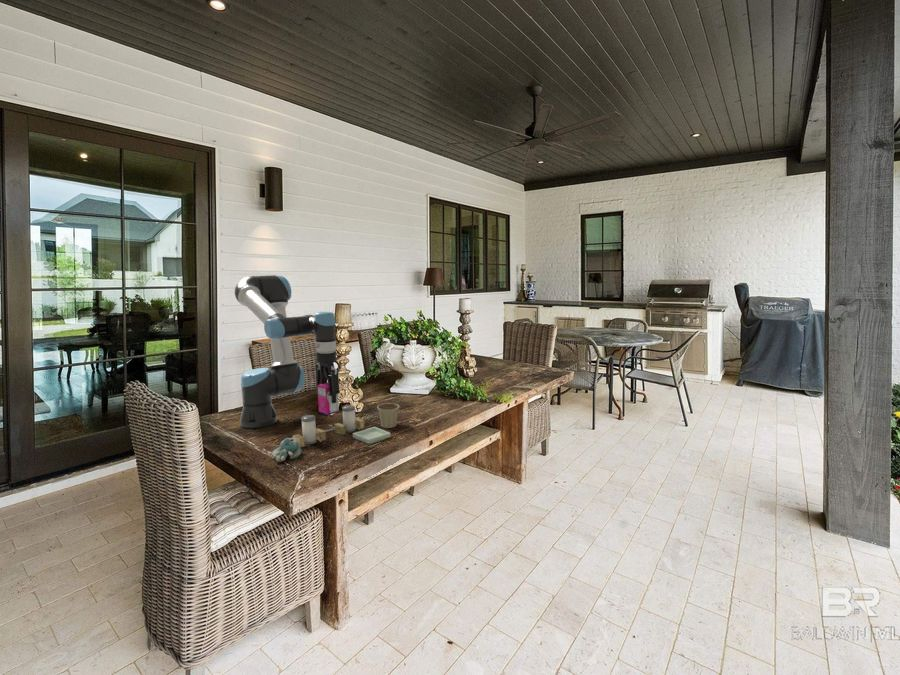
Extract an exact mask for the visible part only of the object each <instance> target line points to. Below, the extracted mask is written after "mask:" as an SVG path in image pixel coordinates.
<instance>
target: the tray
mask: <svg viewBox="0 0 900 675" xmlns="http://www.w3.org/2000/svg"><path fill="white" fill-rule="evenodd" d="M391 434H392V433H391V432H390V431H387V430H384V429H382V428H380V427H376V426H373V427H370V428H366V429H365V428H364V429H361V430H359V431H354V432H352V438H353V439H355V440H358V441H360V442H362V443H364V444H367V445H371V444H374V443H377V442H380V441H381V442H382V441H384V440H386V439H389V438H392V437H391Z"/></svg>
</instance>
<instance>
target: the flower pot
mask: <svg viewBox="0 0 900 675" xmlns="http://www.w3.org/2000/svg"><path fill="white" fill-rule="evenodd" d="M376 408H377V410H378V414H379V419H380V426H381V427H382V428H385V429H392V428H394V427H395V428H396V426H397V421H398V412H399V408H400V405H399V404H398V403H392V402H391V403H390V402H389V403H382V404H379V405H377V407H376Z"/></svg>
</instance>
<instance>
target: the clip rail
mask: <svg viewBox="0 0 900 675" xmlns="http://www.w3.org/2000/svg"><path fill="white" fill-rule="evenodd" d="M355 424H356V430H360V429H361V430H365V420H364V419H362V418H359V417H355ZM333 425H334V427H332V428H329V429H326V430H323V429H321V428H320V427H318V428H316V439H317V440H318V441H320V442H323V441H326V438H327V437H326V434H327V433H332V432H334V434H335V433H336V434H338V435H340V436H344V435H346V434H347V433H346V431H345V425H343V423H339V422H337V423H333ZM292 438H296V439H297V441H298V443H299V446H300V448H304V447H305V444H304V437H303V435H300V434H299V433H296V434H293V435H292Z"/></svg>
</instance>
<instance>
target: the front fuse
mask: <svg viewBox="0 0 900 675" xmlns="http://www.w3.org/2000/svg"><path fill="white" fill-rule="evenodd" d="M300 419H301V430H302V432H301V433H302V434H301V435H302V437H304V445H306V446H307V445H314V444H316V443H317V440H318V439H316V429H317V428H316V415H313V414H308V415H303V416H301V418H300Z"/></svg>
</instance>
